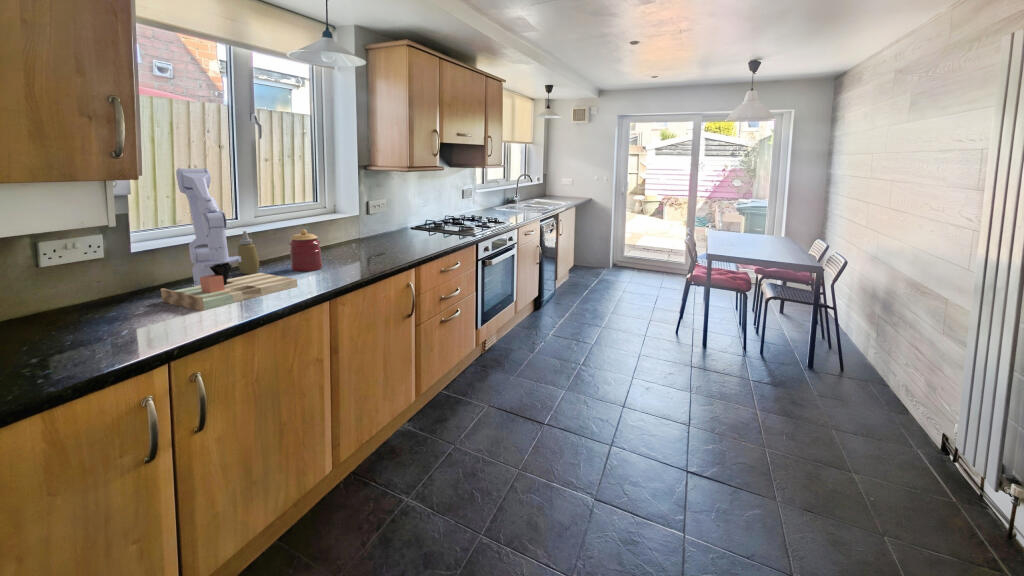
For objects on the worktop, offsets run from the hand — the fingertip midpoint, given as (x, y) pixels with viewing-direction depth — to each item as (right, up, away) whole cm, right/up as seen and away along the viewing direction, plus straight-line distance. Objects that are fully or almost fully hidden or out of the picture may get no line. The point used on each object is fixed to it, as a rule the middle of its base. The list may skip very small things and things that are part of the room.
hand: (223, 285), depth 177 cm
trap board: (+2, -3, +5) cm, 6 cm away
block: (-1, -2, -4) cm, 4 cm away
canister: (+11, +7, +46) cm, 48 cm away
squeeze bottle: (-10, +5, +37) cm, 39 cm away
